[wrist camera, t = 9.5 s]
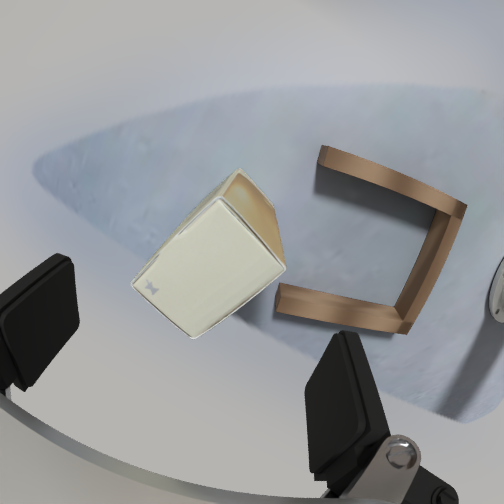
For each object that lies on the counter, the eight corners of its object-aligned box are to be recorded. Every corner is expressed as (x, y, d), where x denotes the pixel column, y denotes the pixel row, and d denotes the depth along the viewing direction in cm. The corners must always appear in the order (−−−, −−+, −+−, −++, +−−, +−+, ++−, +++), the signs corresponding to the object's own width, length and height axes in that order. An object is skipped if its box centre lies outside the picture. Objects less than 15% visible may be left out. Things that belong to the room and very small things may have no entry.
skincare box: (221, 251, 25) (189, 346, 14) (186, 215, 24) (123, 288, 12) (278, 203, 23) (292, 272, 12) (242, 163, 22) (218, 193, 10)
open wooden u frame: (452, 198, 22) (467, 205, 19) (398, 320, 27) (406, 334, 25) (321, 145, 21) (328, 146, 19) (275, 296, 26) (276, 311, 24)
